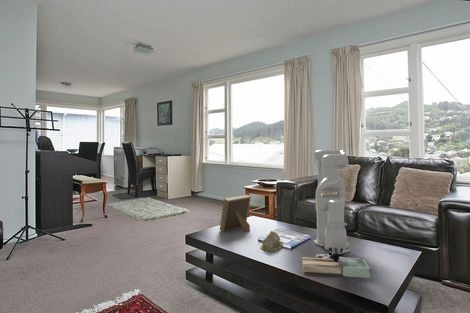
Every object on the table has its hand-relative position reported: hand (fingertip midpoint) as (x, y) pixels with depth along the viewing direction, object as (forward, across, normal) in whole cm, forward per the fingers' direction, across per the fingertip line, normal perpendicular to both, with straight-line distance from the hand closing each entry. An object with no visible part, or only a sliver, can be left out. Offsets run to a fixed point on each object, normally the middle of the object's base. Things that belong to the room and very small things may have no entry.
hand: (335, 261), depth 139 cm
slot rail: (+5, +7, 0) cm, 8 cm away
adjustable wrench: (+5, -3, -19) cm, 20 cm away
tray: (+5, -8, 0) cm, 10 cm away
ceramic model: (+5, +33, -26) cm, 42 cm away
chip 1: (+2, -3, 0) cm, 4 cm away
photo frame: (+5, +60, -56) cm, 82 cm away
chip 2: (+2, -8, 0) cm, 8 cm away
